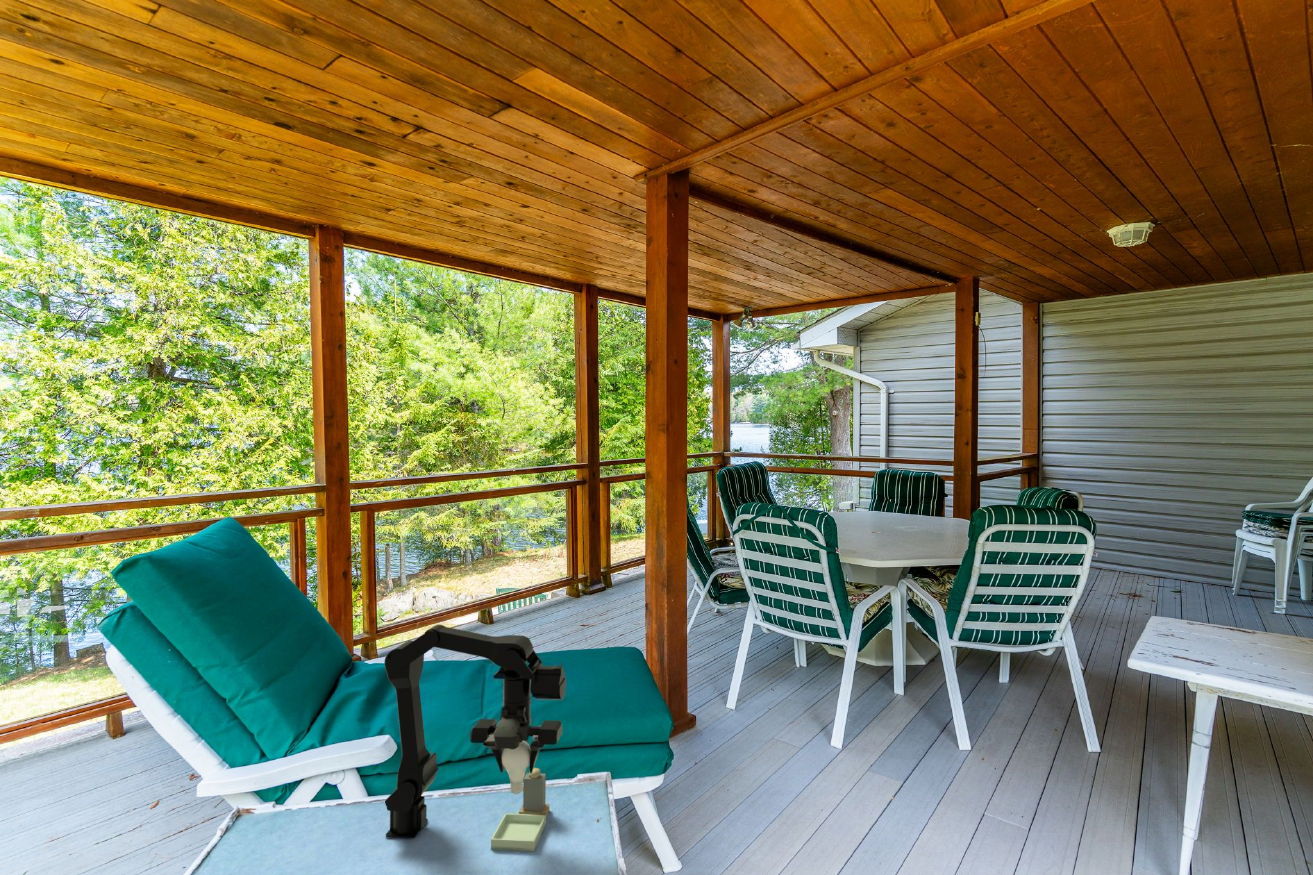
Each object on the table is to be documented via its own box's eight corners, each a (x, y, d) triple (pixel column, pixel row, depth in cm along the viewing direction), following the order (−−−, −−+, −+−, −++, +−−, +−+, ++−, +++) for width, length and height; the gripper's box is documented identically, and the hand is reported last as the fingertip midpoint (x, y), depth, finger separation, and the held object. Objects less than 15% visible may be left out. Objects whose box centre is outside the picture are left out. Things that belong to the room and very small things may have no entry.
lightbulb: (524, 802, 125) (524, 749, 125) (496, 799, 126) (496, 746, 126) (536, 786, 131) (536, 735, 131) (509, 783, 132) (509, 733, 132)
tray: (490, 849, 123) (490, 839, 123) (505, 822, 132) (505, 813, 132) (534, 851, 123) (534, 841, 123) (545, 824, 132) (545, 815, 132)
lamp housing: (518, 818, 134) (519, 774, 134) (523, 809, 137) (524, 766, 138) (545, 819, 133) (545, 775, 134) (549, 810, 137) (549, 767, 137)
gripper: (459, 712, 122) (459, 791, 121) (550, 714, 120) (550, 794, 120) (479, 691, 133) (479, 763, 132) (562, 693, 131) (563, 765, 131)
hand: (516, 771), depth 128 cm, fingers closed on lightbulb, 6 cm apart
